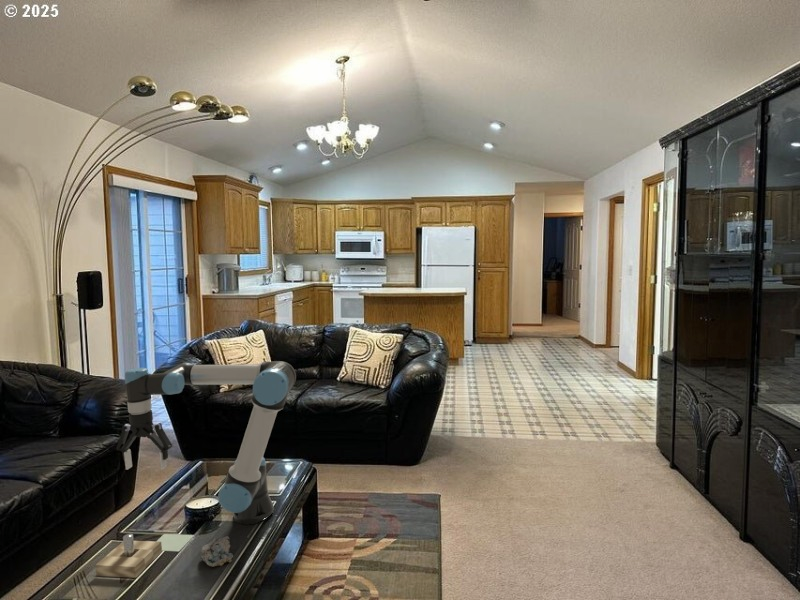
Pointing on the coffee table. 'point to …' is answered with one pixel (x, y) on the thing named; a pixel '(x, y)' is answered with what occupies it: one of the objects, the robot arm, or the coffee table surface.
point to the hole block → (128, 560)
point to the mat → (173, 541)
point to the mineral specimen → (217, 552)
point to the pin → (128, 545)
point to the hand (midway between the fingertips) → (146, 468)
